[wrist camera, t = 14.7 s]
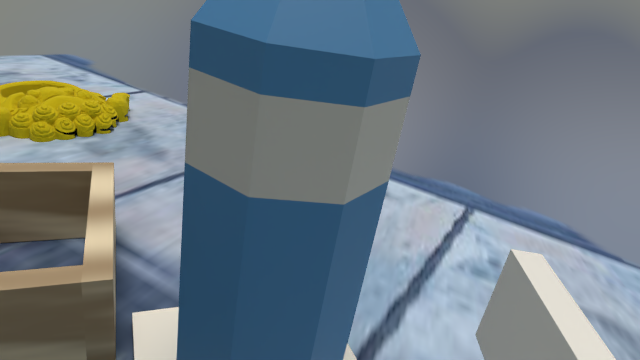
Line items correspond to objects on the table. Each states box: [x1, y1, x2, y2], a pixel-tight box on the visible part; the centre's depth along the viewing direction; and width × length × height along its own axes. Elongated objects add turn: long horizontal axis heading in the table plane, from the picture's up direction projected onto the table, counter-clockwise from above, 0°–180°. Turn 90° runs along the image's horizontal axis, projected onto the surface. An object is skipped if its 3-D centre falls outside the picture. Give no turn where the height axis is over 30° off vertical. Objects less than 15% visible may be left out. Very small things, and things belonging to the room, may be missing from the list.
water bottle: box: [176, 0, 421, 360], centre depth 21 cm, size 9×9×25 cm
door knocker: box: [0, 81, 130, 142], centre depth 57 cm, size 16×16×4 cm
